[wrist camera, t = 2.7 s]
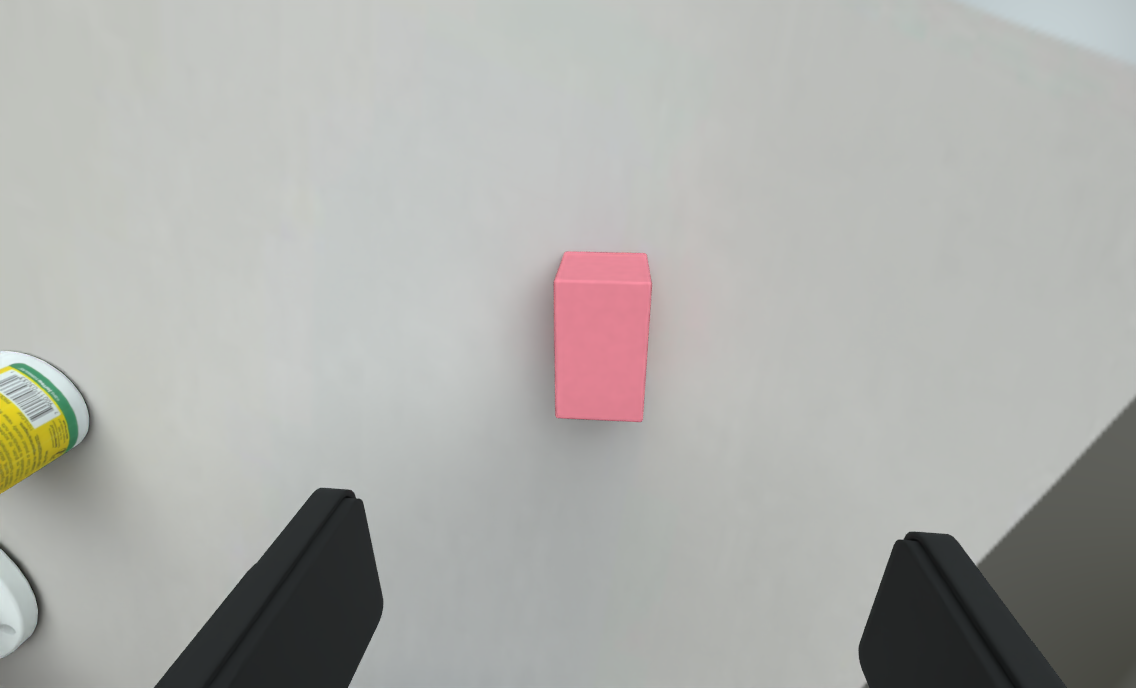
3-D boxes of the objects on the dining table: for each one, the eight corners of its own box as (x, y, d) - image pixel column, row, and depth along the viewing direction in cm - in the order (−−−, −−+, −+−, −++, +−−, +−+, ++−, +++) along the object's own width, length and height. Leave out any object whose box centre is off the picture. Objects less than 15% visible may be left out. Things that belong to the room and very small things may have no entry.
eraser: (564, 250, 19) (553, 279, 16) (646, 252, 19) (652, 282, 16) (564, 372, 21) (555, 419, 18) (639, 375, 21) (642, 423, 18)
